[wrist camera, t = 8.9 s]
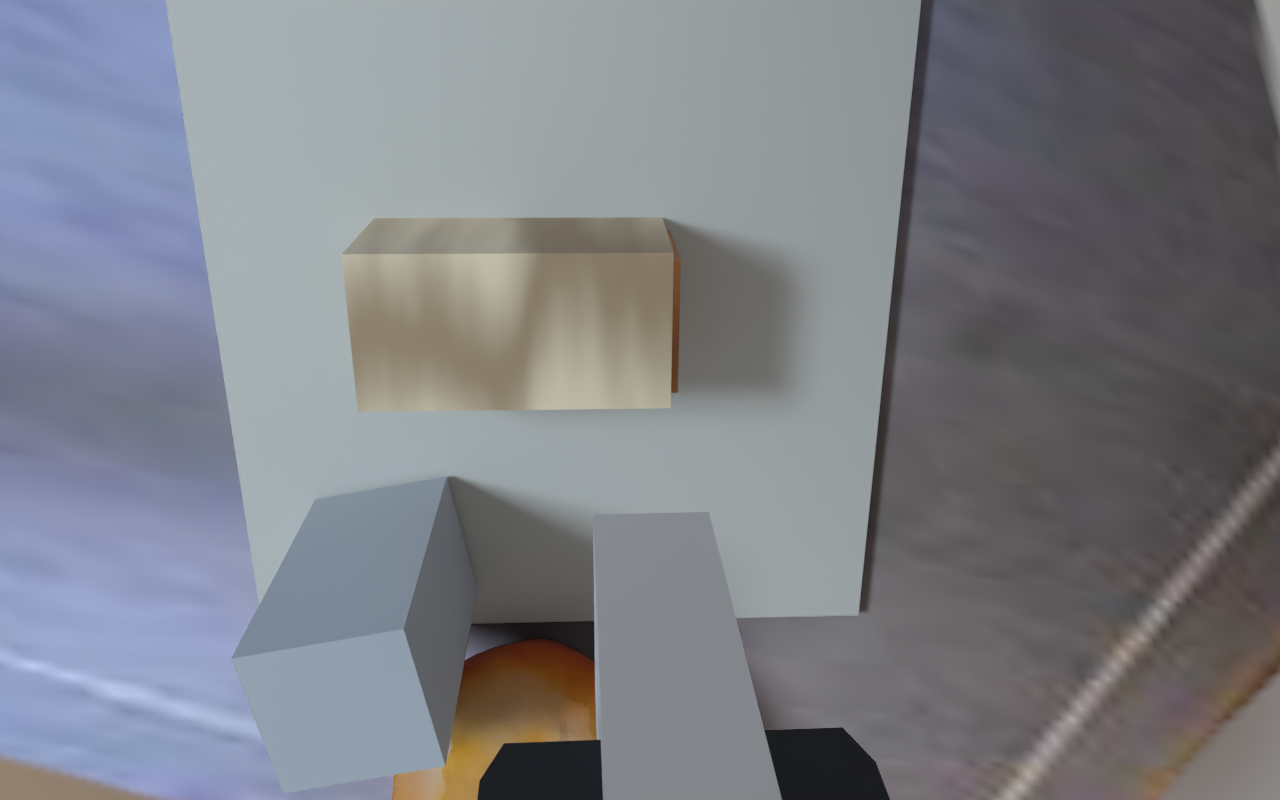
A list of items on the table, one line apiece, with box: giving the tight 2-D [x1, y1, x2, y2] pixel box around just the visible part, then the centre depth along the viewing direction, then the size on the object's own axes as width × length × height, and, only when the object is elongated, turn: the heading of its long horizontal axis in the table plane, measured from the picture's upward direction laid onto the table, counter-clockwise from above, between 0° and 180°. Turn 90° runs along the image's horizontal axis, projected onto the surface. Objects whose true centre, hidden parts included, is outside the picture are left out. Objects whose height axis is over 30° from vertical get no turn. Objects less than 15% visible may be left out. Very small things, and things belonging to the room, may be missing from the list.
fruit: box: [392, 638, 597, 800], centre depth 32 cm, size 8×8×8 cm
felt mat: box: [166, 0, 921, 624], centre depth 30 cm, size 19×19×1 cm
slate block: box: [231, 477, 477, 794], centre depth 28 cm, size 4×4×8 cm
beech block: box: [341, 217, 681, 412], centre depth 27 cm, size 4×4×8 cm
